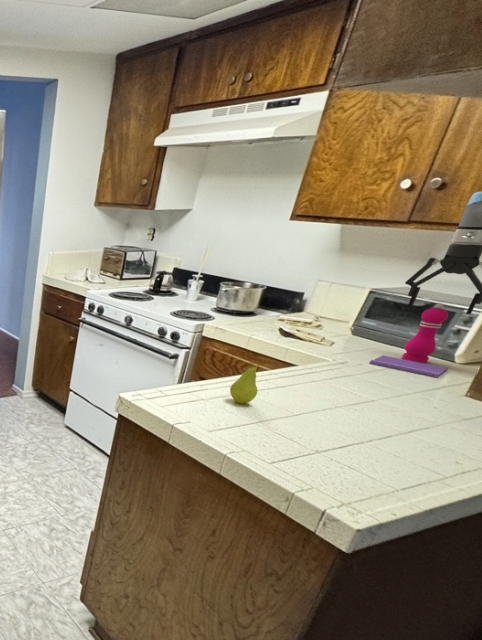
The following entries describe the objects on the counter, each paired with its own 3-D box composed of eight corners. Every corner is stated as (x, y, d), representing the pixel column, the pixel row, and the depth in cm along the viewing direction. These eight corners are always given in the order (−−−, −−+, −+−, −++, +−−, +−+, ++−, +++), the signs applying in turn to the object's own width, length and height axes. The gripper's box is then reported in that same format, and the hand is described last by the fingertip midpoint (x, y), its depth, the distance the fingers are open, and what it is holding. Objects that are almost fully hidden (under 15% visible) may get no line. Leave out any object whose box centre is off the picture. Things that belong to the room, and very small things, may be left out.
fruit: (224, 396, 128) (237, 355, 124) (249, 400, 127) (263, 358, 122) (229, 404, 123) (243, 361, 119) (256, 408, 122) (270, 364, 117)
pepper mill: (404, 356, 168) (429, 300, 161) (432, 361, 162) (460, 304, 155) (395, 358, 165) (420, 302, 158) (423, 364, 159) (451, 306, 152)
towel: (447, 370, 154) (448, 367, 153) (436, 377, 147) (438, 374, 146) (381, 357, 166) (383, 354, 166) (369, 363, 159) (370, 360, 159)
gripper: (410, 241, 157) (384, 304, 165) (528, 247, 137) (493, 318, 145) (416, 241, 161) (391, 302, 168) (532, 246, 141) (497, 315, 149)
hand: (438, 310), depth 157 cm, fingers open, 13 cm apart
